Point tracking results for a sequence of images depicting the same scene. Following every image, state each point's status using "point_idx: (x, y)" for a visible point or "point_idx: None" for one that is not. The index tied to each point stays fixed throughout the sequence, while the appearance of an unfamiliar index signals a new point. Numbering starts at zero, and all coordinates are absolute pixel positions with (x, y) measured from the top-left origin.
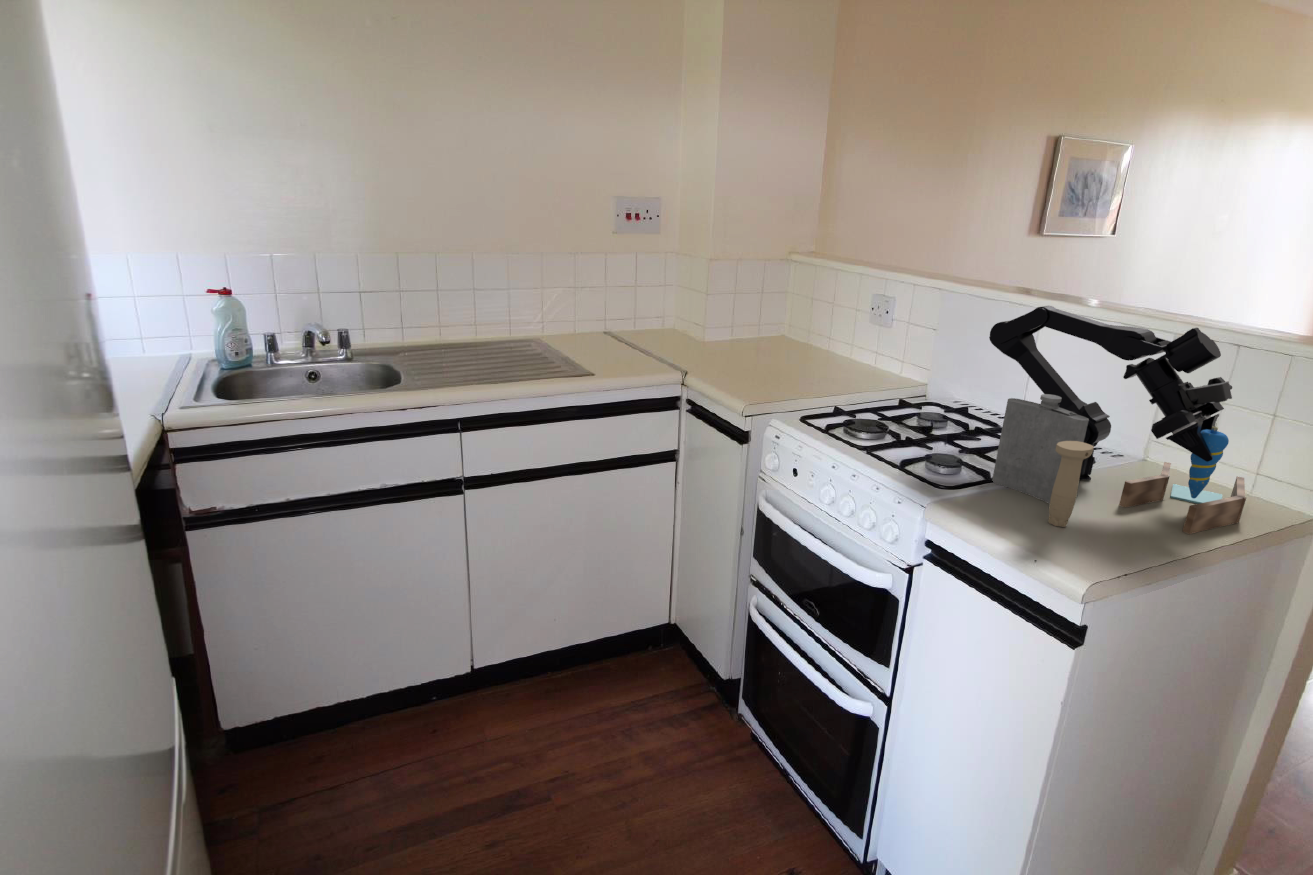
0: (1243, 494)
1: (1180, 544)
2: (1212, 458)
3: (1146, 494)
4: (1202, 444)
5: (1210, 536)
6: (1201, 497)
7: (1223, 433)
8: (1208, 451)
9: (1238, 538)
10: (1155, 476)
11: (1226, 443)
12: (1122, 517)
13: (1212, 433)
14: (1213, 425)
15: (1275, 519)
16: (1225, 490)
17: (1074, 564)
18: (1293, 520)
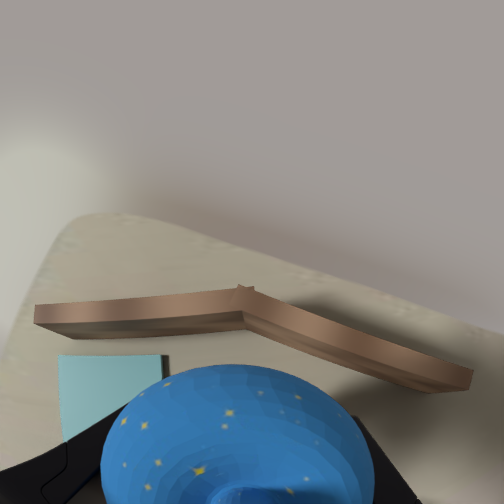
0: (208, 295)
1: (491, 366)
2: (356, 416)
3: None
4: (409, 498)
5: (408, 341)
6: (118, 404)
7: (186, 432)
8: (379, 450)
9: (366, 292)
10: None
11: (284, 374)
12: (437, 501)
13: None
14: (8, 496)
15: (147, 244)
16: (21, 346)
17: None
18: (128, 217)
